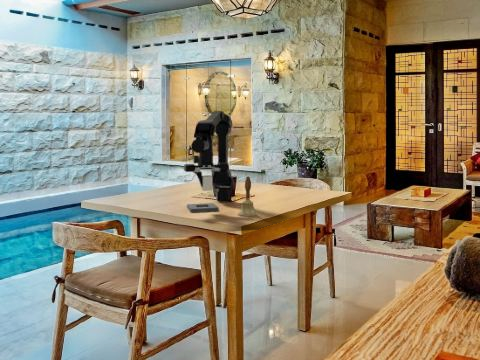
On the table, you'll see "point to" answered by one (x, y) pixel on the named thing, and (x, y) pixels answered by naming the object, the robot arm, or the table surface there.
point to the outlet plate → (202, 207)
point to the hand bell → (247, 201)
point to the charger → (207, 183)
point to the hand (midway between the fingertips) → (206, 187)
